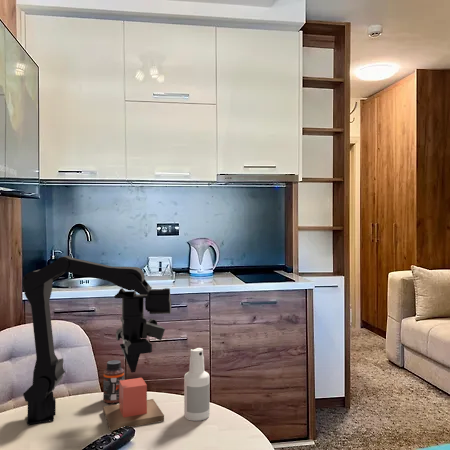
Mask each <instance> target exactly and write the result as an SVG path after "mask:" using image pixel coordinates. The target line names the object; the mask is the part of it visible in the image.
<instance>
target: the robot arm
mask: <svg viewBox="0 0 450 450" xmlns="http://www.w3.org/2000/svg"><path fill="white" fill-rule="evenodd" d="M65 273H69V274H75V275H78V276H83V277H89V278H93V279H99V280H102V281H107V282H109V283H111V284H112V285H115V286H117V287H120V289H119V291H118V292H117V293H116V294H115V295H114V296H113V297H114V298H115V299H121V317H120V322H121V328H118V329H117V330H116V331H115V339H116V341H120V340H122V343H120V344H119V347H120V349H121V352H122V354H123V356H124V358H125V361H126V364H127V366H128V369H129V371H130V373H136V370H137V367H138V362H139V358H140V356H141V355H142V354H151V353H152V352H153V344H152V343H151V342H150V341H149V340H147V338H148V337H150V338H154V339H157V340H159V341H162V339H163V337H164V333H165V330H166V328H164V326H162V325H160V324H158V321H157V320H156V319H154V318H150V319H149V320H148V321H147V319H146V318H145V317H144V313H145V312H144V309H145V311H147V313H148V312H149V313H148V314H149V315H169V314H170V315H172V298H171V288H167V287H166V288H160V289H159V288H152V286H150V285H149V283H148V281H147V280H146V279H145V273H144V271H143V270H142V269H141V267H137V266H111V265H106V264H102V263H98V262H93V261H89V260H84V259H79V258H75V257H72V256H69V255H65V256H60V257H58V258H57V259H56V260H55V261H53V262H51V263H50V264H48V265H46V266H44V267H42V268H41V269H37V270H33V271H30V272H27V273H26V274H25V275H24V276H23V277H22V280H21V285H22V289H23V292H24V296H25V298H26V300H27V301H28V303H29V305H30V307H31V308H30V309H31V318H32V327H33V336H34V337H33V339H34V345H35V355H36V356H35V358H36V359H35V364H34V368H33V372H32V385H30V387H28V389H26V390H25V392H23V394H22V395H23V398H24V401H25V402H27V415H26V425H28V426H29V425H35V424H40V423H41V424H42V423H49V422H53V421H54V420H55V418H54V417H55V416H56V413H57V412H56V407H57V406H56V403H57V402H56V397H55V396H54V390H56V389H55V388H56V387H57V385H59V384H60V382H61V381H62V379H63V376H64V374H65V373H66V370H65V369H64V358H59V359H58V357H57V355H56V353H55V346H54V336H53V335H54V334H53V327H52V325H53V324H52V317H51V309H50V308H51V307H50V301H51V300H50V299H51V297H52V292H53V283H54V282H53V281H55V280H56V279H58V278H59V277H60V276H62V275H64V274H65ZM144 303H145V304H144ZM144 306H145V307H144Z"/></svg>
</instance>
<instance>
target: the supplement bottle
mask: <svg viewBox="0 0 450 450" xmlns="http://www.w3.org/2000/svg"><path fill="white" fill-rule="evenodd" d="M120 380H125V370H124V368H123V367H122V362H121V360H119V359H118V360H117V359H114V360H108V361H107V362H106V369H104V370H103V389H102V391H103V397H102V398H103V402H104V403H107V404H119V381H120Z"/></svg>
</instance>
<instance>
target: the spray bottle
mask: <svg viewBox="0 0 450 450" xmlns="http://www.w3.org/2000/svg"><path fill="white" fill-rule="evenodd" d="M188 367H189V368H188V369H189V370H188V371H187V372H186V373H185V374H184V377H183V378H184V379H183V381H184V384H183V388H184V389H183V391H184V393H183V394H184V396H183V400H184V403H183V408H184V409H183V413H184V414H183V415H184V418H185V419H187V420H188V421H194V422H200V421H204V420H206V419H208V418H209V417H210V414H211V413H210V405H211V404H210V403H211V402H210V401H211V400H210V397H211V396H210V394H211V392H210V390H211V389H210V388H211V387H210V374H209V372H207V371H205V356H204V348H202V347H196V348H194V349H192V348H191V349H190V356H189V366H188Z"/></svg>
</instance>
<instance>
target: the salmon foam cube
mask: <svg viewBox="0 0 450 450" xmlns="http://www.w3.org/2000/svg"><path fill="white" fill-rule="evenodd" d="M147 400H148V385H147V383H146V382H145V380H144V379H143V377H137V378H129V379H124V380H120V381H119V402H118V404H119V409H120V411H121V413H122V416H123V417H129V416H135V415H141V414H147Z"/></svg>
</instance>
